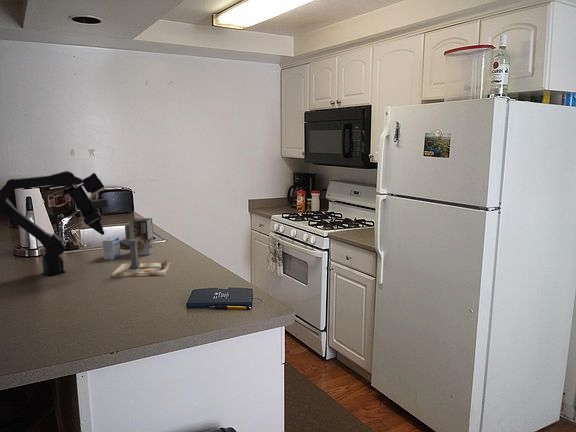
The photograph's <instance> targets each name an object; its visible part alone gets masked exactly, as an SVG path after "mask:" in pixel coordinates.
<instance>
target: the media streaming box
mask: <svg viewBox="0 0 576 432" xmlns="http://www.w3.org/2000/svg"><path fill="white" fill-rule="evenodd" d="M129 240H130V237H129V238H125V239H122V240H119V243H120V246H121V247H120V248H122V247H124V248H123V249H126V248H128V249H127V250H130V244H129ZM154 241H155V240H153V242H154ZM154 243H155V242H154Z"/></svg>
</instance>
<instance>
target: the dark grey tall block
mask: <svg viewBox="0 0 576 432" xmlns="http://www.w3.org/2000/svg"><path fill="white" fill-rule="evenodd" d="M137 242H138V239H130V240H129V244H130V249H129V251H130V252H129V253H130V264H131V265H130V268H138V267H139V266H140V263H141V262H139V255H138V249H137Z"/></svg>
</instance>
